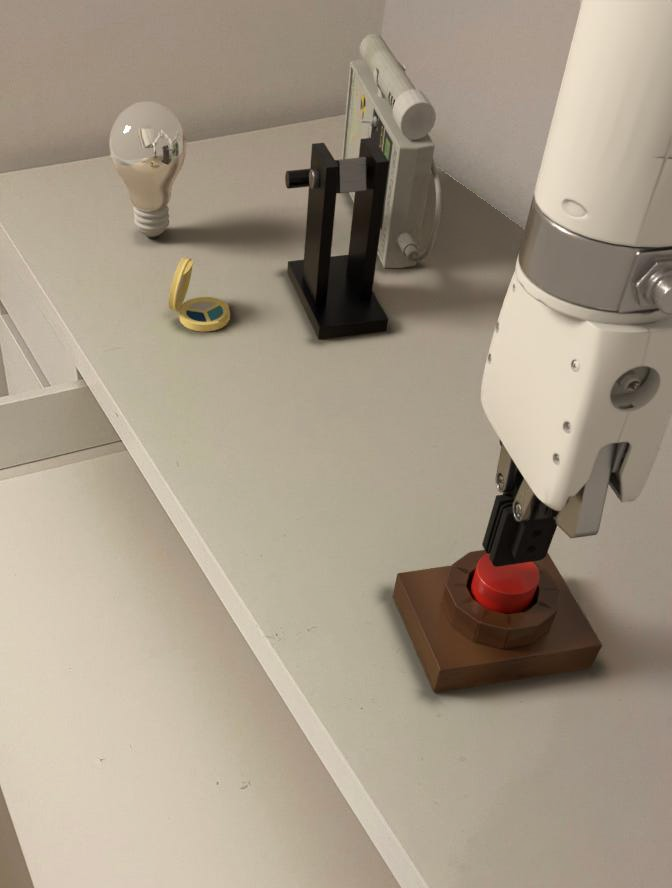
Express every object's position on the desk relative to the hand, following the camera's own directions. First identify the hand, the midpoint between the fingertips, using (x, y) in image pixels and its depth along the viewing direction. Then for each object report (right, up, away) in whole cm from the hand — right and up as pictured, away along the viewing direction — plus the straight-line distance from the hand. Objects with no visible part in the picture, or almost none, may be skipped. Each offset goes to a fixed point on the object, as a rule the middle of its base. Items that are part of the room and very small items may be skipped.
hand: (512, 553), depth 56 cm
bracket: (-6, +25, +30) cm, 40 cm away
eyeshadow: (-17, +23, +29) cm, 41 cm away
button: (0, -2, +3) cm, 3 cm away
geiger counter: (+1, +35, +39) cm, 52 cm away
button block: (0, -4, +5) cm, 7 cm away
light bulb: (-22, +34, +39) cm, 56 cm away
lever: (-7, +33, +27) cm, 43 cm away
